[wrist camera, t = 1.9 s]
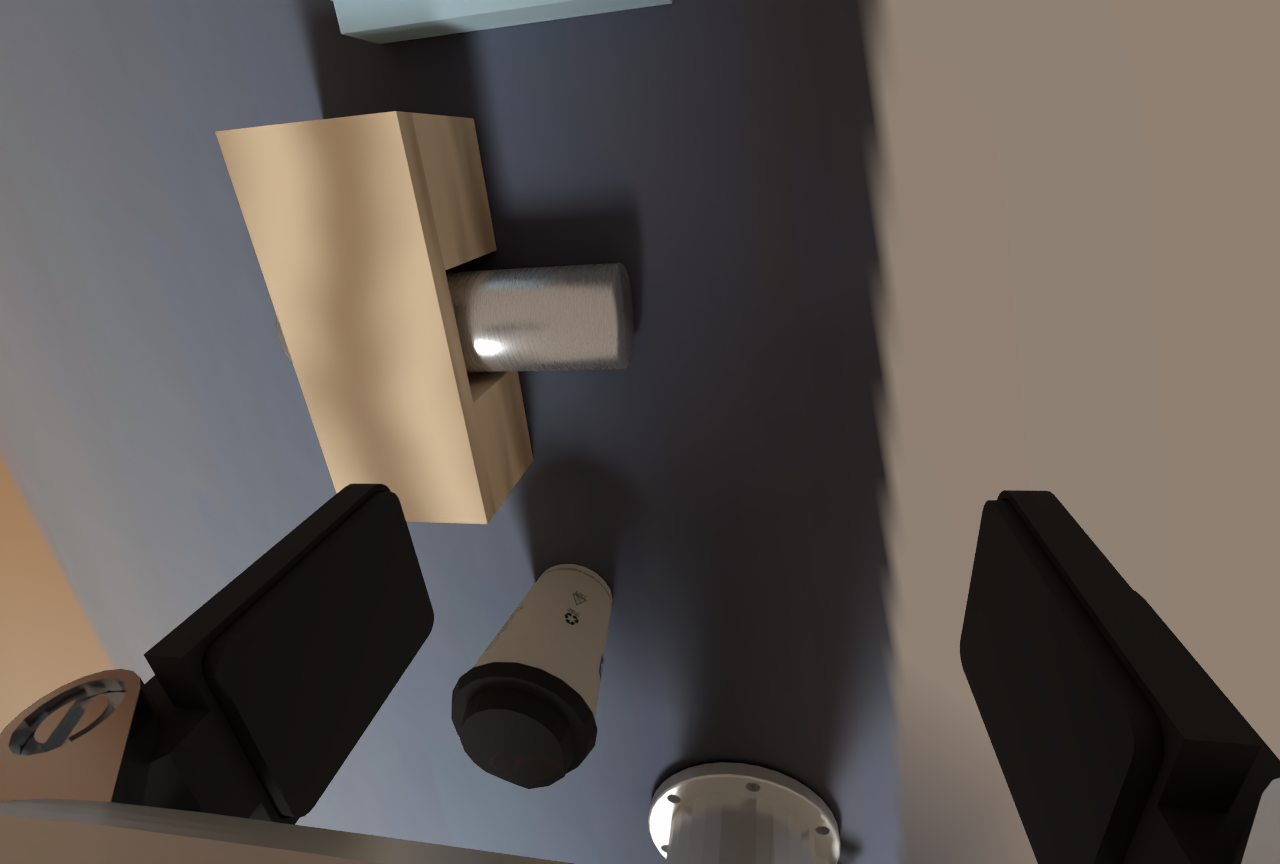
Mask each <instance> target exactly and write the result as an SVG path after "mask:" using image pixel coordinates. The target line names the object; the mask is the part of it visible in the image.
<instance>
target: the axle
mask: <svg viewBox="0 0 1280 864" xmlns="http://www.w3.org/2000/svg"><path fill="white" fill-rule="evenodd" d="M446 277H447V281H448V286H449V291H450V296H451V300H452V305H453V310H454V314H455V319H456V324H457V329H458V333H459V338H460V343H461V348H462V352H463V357H464V362H465V366H466V371H467V372H504V371H553V370H601V369H626V368H627V367H628V366H629V364H630V361H631V357H632V351H633V342H634V318H633V307H632V296H631V285H630V280H629V276H628V273H627V270H626V268H625V266H624V265H623V264H622V263H607V264H589V265H572V266H554V267H536V268H518V269H500V270H482V271H465V272H447V273H446ZM276 326H277V333H278V337H279V341H280V344H281V346H282V348H283V351H284V352H285V354H286V356H287V357H288V359H289V360H290V361H291V362H292V359H291V356H290V353H289V350H288V347H287V344H286V341H285V338H284V335H283V332H282V329H281V326H280V323H279V320H278V317H277V315H276ZM292 364H293V362H292Z"/></svg>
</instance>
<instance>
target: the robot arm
mask: <svg viewBox="0 0 1280 864" xmlns="http://www.w3.org/2000/svg"><path fill="white" fill-rule="evenodd" d="M433 622H434V613H433V609H432V605H431V602H430V599H429V596H428V592H427V589H426V586H425V582H424V579H423V576H422V572H421V569H420V566H419V563H418V559H417V556H416V553H415V549H414V546H413V543H412V539H411V536H410V533H409V530H408V526H407V523H406V520H405V516H404V513H403V510H402V506H401V503H400V500H399V498H398V496H397V495H396V494H395V493H393V492H391V491H390V489H389V488H388V487H387V486H386V485H384V484H349V485H347V486H346V487H344V488H343V489H342V490H341V491H339V492H338V493H337V494H336V495H335V496H333V497H332V498H331V499H330V500H329V501H327V502H326V503H325V504H324V505H323V506H321V507H320V508H319V509H318V510H317V511H315V512H314V513H313V514H312V515H311V516H309V517H308V518H307V519H306V520H305V521H303V522H302V523H301V524H300V525H299V526H297V527H296V528H295V529H294V530H293V531H291V532H290V533H289V534H288V535H287V536H285V537H284V538H283V539H282V540H281V541H279V542H278V543H277V544H276V545H275V546H273V547H272V548H271V549H270V550H269V551H267V552H266V553H265V554H264V555H263V556H261V557H260V558H259V559H258V560H257V561H255V562H254V563H253V564H252V565H251V566H249V567H248V568H247V569H246V570H245V571H244V572H242V573H241V574H240V575H239V576H238V577H236V578H235V579H234V580H233V581H232V582H230V583H229V584H228V585H227V586H226V587H224V588H223V589H222V590H221V591H220V592H218V593H217V594H216V595H215V596H214V597H212V598H211V599H210V600H209V601H208V602H206V603H205V604H204V605H203V606H202V607H200V608H199V609H198V610H197V611H196V612H194V613H193V614H192V615H191V616H190V617H188V618H187V619H186V620H185V621H184V622H182V623H181V624H180V625H179V626H178V627H176V628H175V629H174V630H173V631H172V632H170V633H169V634H168V635H167V636H166V637H164V638H163V639H162V640H161V641H160V642H158V643H157V644H156V645H155V646H154V647H152V648H151V649H150V650H149V651H148V652H146V653H145V654H144V656H145V658H146V659H147V661H148V663H149V665H150V666H151V668H152V670H153V671H154V673H155V676H154V677H152V678H151V679H150V680H149V681H148V682H147V683H146V684H145V685H144V683H143V682H142V680H141V678H140V677H139V676H138V675H137V674H136V673H135V672H134V671H130V670H124V669H115V670H106V671H102V672H98V673H95V674H92V675H88V676H84V677H82V678H80V679H77V680H75V681H73V682H70V683H68V684H66V685H64V686H61V687H60V688H58V689H56V690H54V691H53V692H51V693H49V694H47V695H46V696H44V697H42V698H40V699H39V700H38V701H36V702H35V703H34V704H32V705H31V706H29V707H28V708H27V709H25V710H24V711H22V712H21V713H20V714H19V715H18V716H17V717H16V718H15V719H14V720H13V721H11V723H9V724H8V725H7V726H6V727H5V728H4V730H3V731H2V732H1V734H0V864H572V863H565V862H558V861H551V860H544V859H537V858H530V857H523V856H516V855H509V854H502V853H495V852H488V851H480V850H473V849H466V848H459V847H452V846H445V845H438V844H431V843H423V842H416V841H409V840H402V839H395V838H388V837H381V836H373V835H366V834H358V833H351V832H344V831H336V830H329V829H321V828H314V827H306V826H299V825H295V824H296V822H297V821H298V819H299V818H300V817H303V816H305V815H306V814H307V813H309V812H310V811H311V810H312V808H313V807H314V806H315V804H316V803H317V801H318V800H319V798H320V797H321V795H322V794H323V793H324V791H325V790H326V788H327V787H328V785H329V784H330V782H331V781H332V779H333V778H334V776H335V775H336V773H337V772H338V770H339V769H340V767H341V766H342V764H343V763H344V761H345V760H346V758H347V757H348V755H349V754H350V752H351V751H352V749H353V748H354V746H355V745H356V743H357V742H358V740H359V739H360V737H361V736H362V734H363V733H364V731H365V730H366V728H367V727H368V725H369V724H370V722H371V721H372V719H373V718H374V716H375V715H376V713H377V712H378V710H379V709H380V707H381V706H382V704H383V703H384V701H385V700H386V698H387V697H388V695H389V694H390V693H391V691H392V690H393V688H394V687H395V685H396V684H397V682H398V681H399V679H400V678H401V676H402V675H403V673H404V672H405V670H406V669H407V667H408V666H409V664H410V663H411V661H412V660H413V658H414V657H415V655H416V654H417V652H418V651H419V649H420V648H421V646H422V645H423V643H424V642H425V640H426V639H427V637H428V636H429V634H430V632H431V630H432V627H433ZM960 656H961V662H962V666H963V670H964V672H965V675H966V677H967V680H968V683H969V685H970V688H971V691H972V693H973V696H974V698H975V701H976V703H977V706H978V709H979V711H980V714H981V717H982V719H983V722H984V724H985V727H986V730H987V732H988V735H989V737H990V740H991V743H992V745H993V748H994V750H995V753H996V756H997V758H998V761H999V763H1000V766H1001V769H1002V771H1003V774H1004V776H1005V779H1006V782H1007V784H1008V787H1009V789H1010V792H1011V794H1012V797H1013V800H1014V802H1015V805H1016V808H1017V810H1018V813H1019V815H1020V818H1021V820H1022V823H1023V826H1024V829H1025V831H1026V834H1027V836H1028V839H1029V842H1030V844H1031V847H1032V849H1033V852H1034V854H1035V857H1036V860H1037V862H1038V864H1280V760H1279V759H1278V758H1277V757H1276V755H1275V754H1274V753H1273V752H1272V751H1271V750H1270V748H1269V747H1268V746H1267V745H1266V744H1265V742H1264V741H1263V740H1262V739H1261V737H1260V736H1259V735H1258V734H1257V733H1256V731H1255V730H1254V729H1253V728H1252V727H1251V726H1250V724H1249V723H1248V722H1247V721H1246V720H1245V718H1244V717H1243V716H1242V715H1241V714H1240V712H1238V710H1237V709H1236V708H1235V706H1233V704H1232V703H1231V702H1230V700H1229V699H1228V698H1227V697H1226V696H1225V695H1224V693H1223V692H1222V691H1221V690H1220V689H1219V687H1218V686H1217V685H1216V684H1215V683H1214V681H1213V680H1212V679H1211V678H1210V677H1209V675H1208V674H1207V673H1206V672H1205V671H1204V670H1203V668H1202V667H1201V666H1200V665H1199V664H1198V662H1197V661H1196V660H1195V659H1194V658H1193V656H1192V655H1191V654H1190V653H1189V652H1188V650H1187V649H1186V648H1185V647H1184V646H1183V644H1182V643H1181V642H1180V641H1179V640H1178V638H1177V637H1176V636H1175V635H1174V634H1173V633H1172V631H1171V630H1170V629H1169V628H1168V627H1167V625H1166V624H1165V623H1164V622H1163V621H1162V619H1161V618H1160V617H1159V616H1158V615H1157V614H1156V612H1155V611H1154V610H1153V609H1152V607H1151V606H1150V605H1149V604H1148V603H1147V601H1146V600H1145V599H1144V598H1143V597H1142V596H1140V595H1139V594H1138V593H1137V592H1136V591H1134V590H1133V589H1132V588H1131V587H1130V586H1129V585H1128V583H1127V582H1126V581H1125V580H1124V579H1123V578H1122V576H1121V575H1120V574H1119V573H1118V571H1117V570H1116V569H1115V568H1114V567H1113V565H1112V564H1111V563H1110V562H1109V560H1108V559H1107V558H1106V557H1105V556H1104V554H1103V553H1102V552H1101V551H1100V550H1099V548H1098V547H1097V546H1096V545H1095V544H1094V542H1093V541H1092V540H1091V539H1090V538H1089V537H1088V535H1087V534H1086V533H1085V532H1084V530H1083V529H1082V528H1081V527H1080V525H1079V524H1078V523H1077V522H1076V521H1075V519H1074V518H1073V517H1072V516H1071V515H1070V513H1069V512H1068V511H1067V510H1066V509H1065V507H1064V506H1063V505H1062V504H1061V503H1060V501H1059V500H1058V499H1057V498H1056V497H1055V495H1053V494H1052V493H1051V492H1048V491H1002V492H1001V493H1000V495H999V496H998V499H997V500H993V501H992V500H989V501H987V502H986V503H985V505H984V508H983V512H982V518H981V524H980V530H979V536H978V541H977V548H976V553H975V559H974V565H973V570H972V576H971V582H970V588H969V594H968V600H967V605H966V611H965V617H964V623H963V629H962V634H961V640H960ZM648 822H649V831H650V834H651V837H652V840H653V842H654V844H655V845H656V847H657V849H658V850H659V851H660V853H661V854H662V855H663V856H664V857H665V858H666V864H837V862H838V859H839V856H840V838H839V831H838V824H837V822H836V820H835V818H834V815H833V813H832V811H831V810H830V809H829V807H828V806H827V805H826V804H825V802H824V801H823V800H822V799H821V798H820V797H819V796H818V795H816V794H815V793H814V792H813V791H812V790H811V789H809V788H808V787H806V786H804V785H803V784H801V783H800V782H798V781H797V780H795V779H793V778H791V777H788V776H786V775H784V774H782V773H779V772H777V771H774V770H770V769H767V768H764V767H760V766H755V765H749V764H743V763H729V762H719V763H708V764H702V765H698V766H694V767H690V768H687V769H685V770H683V771H680V772H678V773H676V774H674V775H672V776H671V777H670V778H668V779H667V780H665V781H664V782H663V783H662V784H661V785H660V787H659V788H658V789H657V790H656V791H655V794H654V796H653V798H652V801H651V806H650V812H649V817H648Z"/></svg>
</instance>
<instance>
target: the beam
mask: <svg viewBox="0 0 1280 864" xmlns="http://www.w3.org/2000/svg"><path fill="white" fill-rule="evenodd" d="M216 135H217V138H218V141H219V144H220V147H221V150H222V153H223V156H224V159H225V162H226V165H227V168H228V171H229V174H230V177H231V180H232V183H233V186H234V189H235V192H236V195H237V198H238V201H239V204H240V207H241V210H242V213H243V216H244V219H245V222H246V225H247V228H248V231H249V234H250V237H251V240H252V243H253V246H254V249H255V251H256V254H257V257H258V260H259V263H260V266H261V269H262V272H263V275H264V278H265V281H266V284H267V287H268V290H269V293H270V296H271V299H272V302H273V305H274V308H275V311H276V314H277V317H278V320H279V323H280V326H281V329H282V332H283V335H284V338H285V341H286V344H287V347H288V350H289V353H290V356H291V359H292V362H293V365H294V368H295V371H296V374H297V377H298V380H299V383H300V386H301V388H302V391H303V394H304V397H305V400H306V403H307V406H308V409H309V412H310V415H311V418H312V421H313V424H314V427H315V430H316V433H317V436H318V439H319V442H320V445H321V448H322V451H323V454H324V457H325V460H326V463H327V466H328V469H329V472H330V475H331V478H332V481H333V484H334V487H335V490H336V493H338V492H339V491H341V490H342V489H343V488H344V487H346V486H347V485H349V484H384V485H386V486H387V487H388V488H389V489H390V491H391V492H393V493H395V494H396V495H397V496H398V498H399V500H400V503H401V506H402V510H403V513H404V516H405V520H406V521H409V522H439V523H469V524H488V523H489V521H490V520H491V518H492V517H493V516H494V514H495V513H496V511H497V510H498V509H499V507H500V506H501V504H502V503H503V502H504V500H505V499H506V498H507V496H508V495H509V493H510V492H511V491H512V489H513V488H514V486H515V485H516V484H517V482H518V481H519V480H520V478H521V477H522V475H523V474H524V473H525V471H526V470H527V468H528V467H529V466H530V464H531V463H532V462H533V455H532V450H531V444H530V438H529V432H528V427H527V421H526V415H525V409H524V404H523V398H522V392H521V387H520V381H519V375H518V371H504V372H467V371H466V366H465V362H464V357H463V352H462V348H461V343H460V338H459V333H458V329H457V324H456V319H455V314H454V310H453V305H452V300H451V296H450V291H449V286H448V281H447V277H446V272H445V270H448V269H450V268H453V267H455V266H458V265H460V264H463V263H466V262H468V261H471V260H473V259H476V258H478V257H481V256H483V255H486V254H488V253H491V252H493V251H496V250H497V249H496V243H495V238H494V232H493V226H492V220H491V215H490V209H489V203H488V198H487V192H486V186H485V180H484V175H483V169H482V163H481V157H480V152H479V146H478V140H477V135H476V129H475V123H474V118H464V117H453V116H443V115H432V114H422V113H411V112H401V111H392V112H383V113H375V114H366V115H357V116H348V117H340V118H331V119H322V120H313V121H304V122H296V123H287V124H278V125H269V126H261V127H252V128H243V129H234V130H226V131H217V132H216Z"/></svg>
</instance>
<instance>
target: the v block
mask: <svg viewBox="0 0 1280 864" xmlns="http://www.w3.org/2000/svg"><path fill="white" fill-rule="evenodd" d="M331 1H333V3H334V7H335V11H336V15H337V19H338V23H339V27H340V31H341V34H343V35H347V36H351V37H354V38H358V39H362V40H366V41H369V42H373V43H377V44H384V43H391V42H398V41H405V40H412V39H420V38H427V37H434V36H441V35H448V34H456V33H463V32H470V31H477V30H484V29H492V28H499V27H506V26H513V25H520V24H528V23H535V22H542V21H549V20H556V19H564V18H571V17H578V16H585V15H592V14H600V13H607V12H614V11H621V10H628V9H635V8H643V7H650V6H657V5H664V4H671V3H672V0H331Z"/></svg>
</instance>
